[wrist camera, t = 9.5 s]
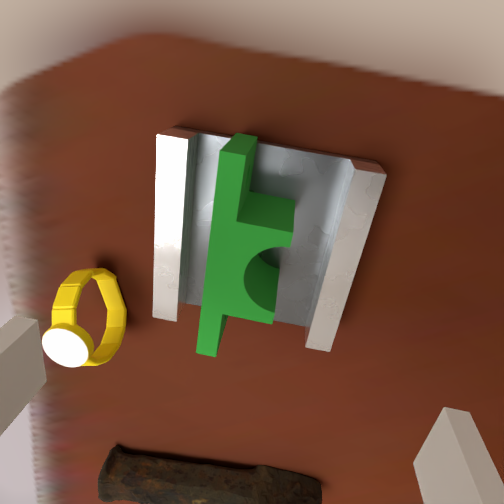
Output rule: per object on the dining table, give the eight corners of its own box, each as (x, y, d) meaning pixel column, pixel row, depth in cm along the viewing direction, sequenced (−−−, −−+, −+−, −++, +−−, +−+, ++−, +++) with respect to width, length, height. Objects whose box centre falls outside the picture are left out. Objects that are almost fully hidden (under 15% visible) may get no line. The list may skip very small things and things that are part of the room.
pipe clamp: (269, 316, 24) (262, 367, 20) (213, 304, 24) (195, 353, 20) (308, 145, 19) (308, 168, 15) (236, 131, 19) (218, 151, 15)
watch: (83, 256, 25) (22, 300, 20) (121, 253, 25) (69, 298, 19) (107, 330, 27) (58, 388, 22) (142, 329, 27) (100, 388, 22)
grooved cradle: (376, 160, 20) (386, 174, 17) (327, 323, 25) (329, 352, 22) (175, 125, 20) (157, 134, 18) (167, 292, 25) (152, 316, 23)
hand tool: (118, 465, 36) (94, 517, 32) (112, 438, 34) (86, 490, 30) (316, 494, 34) (318, 554, 30) (322, 468, 32) (325, 527, 28)
